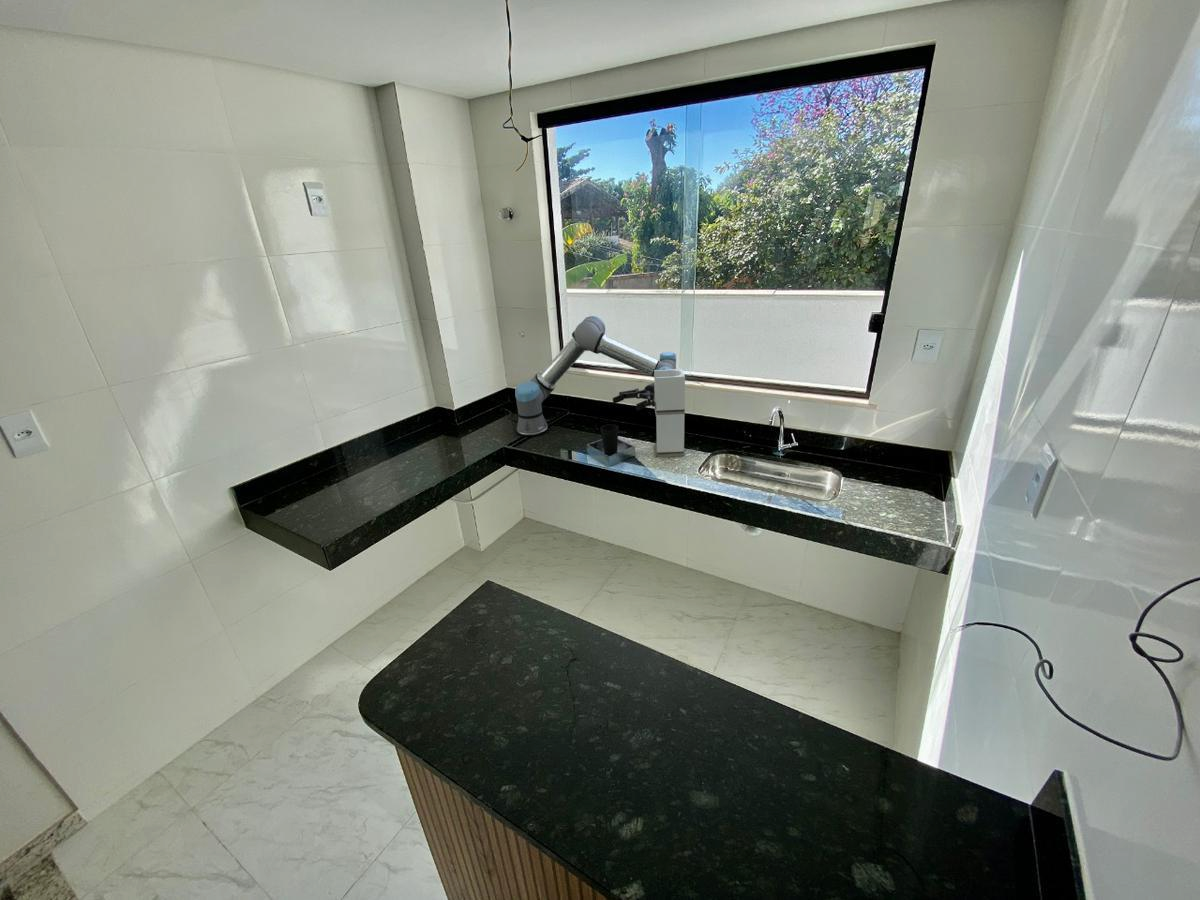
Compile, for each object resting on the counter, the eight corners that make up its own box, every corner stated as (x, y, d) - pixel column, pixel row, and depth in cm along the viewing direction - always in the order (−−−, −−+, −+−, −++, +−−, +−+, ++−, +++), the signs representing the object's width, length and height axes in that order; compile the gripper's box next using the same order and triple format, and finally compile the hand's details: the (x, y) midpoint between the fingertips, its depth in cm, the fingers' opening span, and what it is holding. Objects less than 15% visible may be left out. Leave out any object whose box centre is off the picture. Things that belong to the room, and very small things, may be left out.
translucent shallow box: (587, 453, 214) (586, 444, 212) (612, 444, 221) (611, 435, 219) (609, 466, 202) (608, 456, 200) (635, 455, 209) (634, 446, 207)
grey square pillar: (680, 445, 216) (681, 368, 201) (683, 455, 206) (685, 376, 191) (655, 446, 216) (654, 370, 201) (656, 456, 207) (656, 378, 192)
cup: (620, 448, 214) (618, 423, 209) (619, 456, 207) (617, 431, 202) (602, 449, 215) (601, 424, 209) (601, 456, 208) (599, 431, 203)
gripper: (677, 404, 218) (647, 418, 204) (634, 393, 234) (604, 406, 220) (677, 388, 214) (647, 401, 201) (634, 378, 230) (603, 390, 217)
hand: (624, 404), depth 211 cm, fingers open, 13 cm apart
